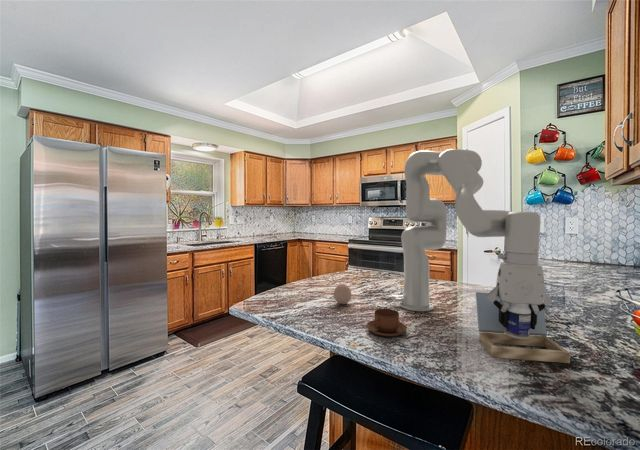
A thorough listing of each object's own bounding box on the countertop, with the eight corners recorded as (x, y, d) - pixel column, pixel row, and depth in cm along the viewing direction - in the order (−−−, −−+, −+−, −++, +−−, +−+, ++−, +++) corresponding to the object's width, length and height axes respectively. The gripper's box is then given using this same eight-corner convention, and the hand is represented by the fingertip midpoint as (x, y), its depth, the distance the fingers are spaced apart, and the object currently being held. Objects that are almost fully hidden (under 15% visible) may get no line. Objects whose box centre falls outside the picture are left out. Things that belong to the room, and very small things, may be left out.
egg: (345, 307, 116) (345, 286, 116) (330, 304, 120) (330, 284, 120) (354, 303, 122) (354, 283, 121) (340, 300, 126) (340, 281, 126)
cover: (476, 292, 87) (475, 292, 88) (479, 331, 84) (478, 331, 85) (542, 294, 83) (540, 294, 84) (547, 336, 81) (545, 335, 82)
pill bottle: (498, 330, 81) (500, 295, 81) (518, 330, 82) (520, 295, 81) (514, 340, 76) (516, 302, 75) (535, 339, 76) (537, 301, 75)
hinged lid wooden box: (492, 357, 75) (492, 347, 74) (479, 340, 84) (479, 332, 84) (569, 363, 71) (569, 352, 71) (546, 345, 81) (546, 336, 81)
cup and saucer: (399, 343, 83) (399, 321, 83) (360, 334, 90) (360, 314, 90) (411, 329, 94) (411, 310, 93) (375, 322, 100) (375, 304, 100)
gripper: (489, 260, 75) (486, 329, 77) (567, 263, 72) (562, 335, 73) (479, 255, 83) (477, 318, 84) (549, 257, 79) (545, 323, 81)
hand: (517, 325), depth 79 cm, fingers closed on pill bottle, 5 cm apart
